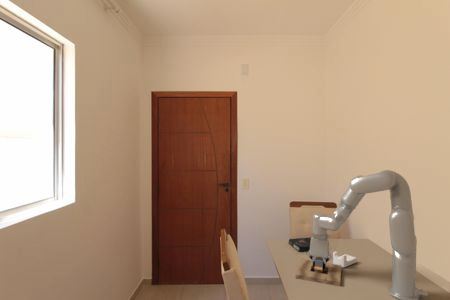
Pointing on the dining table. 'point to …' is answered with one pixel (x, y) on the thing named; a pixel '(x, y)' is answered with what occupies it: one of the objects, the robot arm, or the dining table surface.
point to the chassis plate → (307, 274)
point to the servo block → (319, 264)
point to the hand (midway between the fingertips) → (319, 268)
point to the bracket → (343, 260)
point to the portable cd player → (300, 244)
